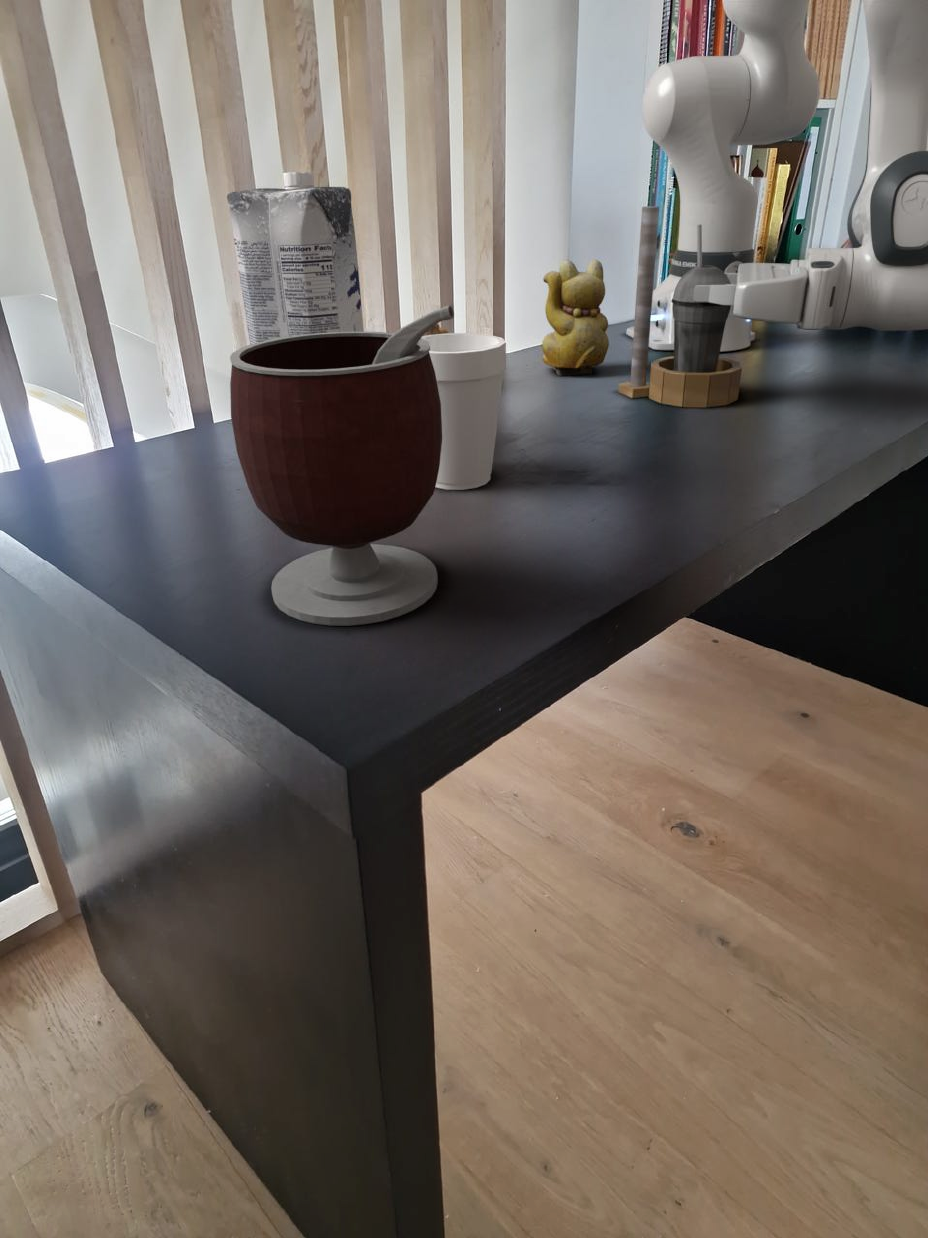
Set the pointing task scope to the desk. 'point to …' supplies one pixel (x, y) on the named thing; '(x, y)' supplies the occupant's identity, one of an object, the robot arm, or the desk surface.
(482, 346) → the foam cup
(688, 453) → the desk surface
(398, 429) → the mate gourd
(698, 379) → the holder
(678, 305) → the beverage cup
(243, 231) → the juice carton
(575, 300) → the decorative figurine
